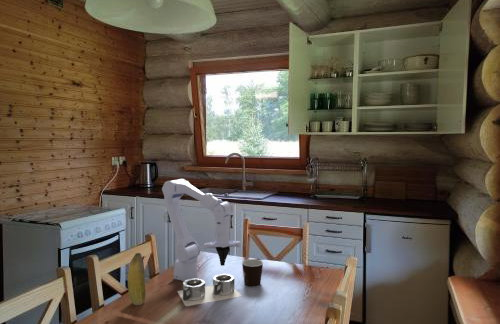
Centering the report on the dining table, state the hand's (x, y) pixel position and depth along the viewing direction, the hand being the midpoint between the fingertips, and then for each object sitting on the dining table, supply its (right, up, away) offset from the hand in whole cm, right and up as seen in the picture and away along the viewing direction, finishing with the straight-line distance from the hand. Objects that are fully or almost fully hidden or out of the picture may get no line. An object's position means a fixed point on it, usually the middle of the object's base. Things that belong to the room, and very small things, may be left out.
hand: (222, 264), depth 154 cm
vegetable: (-31, -11, -15) cm, 36 cm away
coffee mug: (+13, -10, +5) cm, 17 cm away
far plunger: (+1, -8, -4) cm, 9 cm away
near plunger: (-10, -9, -9) cm, 16 cm away
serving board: (-5, -11, -6) cm, 13 cm away
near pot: (-11, -10, -10) cm, 17 cm away
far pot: (0, -9, -5) cm, 11 cm away
